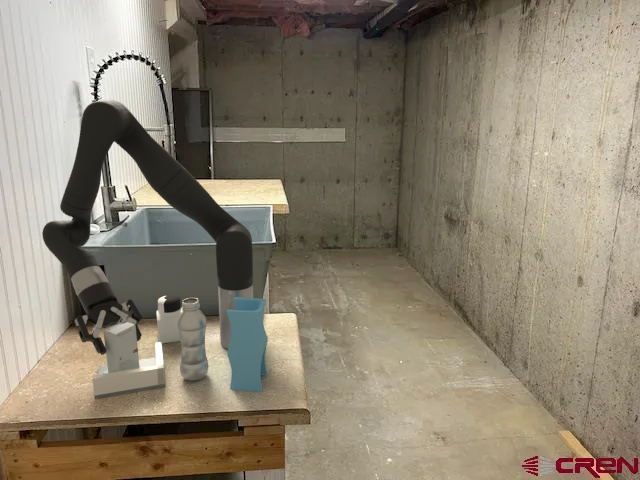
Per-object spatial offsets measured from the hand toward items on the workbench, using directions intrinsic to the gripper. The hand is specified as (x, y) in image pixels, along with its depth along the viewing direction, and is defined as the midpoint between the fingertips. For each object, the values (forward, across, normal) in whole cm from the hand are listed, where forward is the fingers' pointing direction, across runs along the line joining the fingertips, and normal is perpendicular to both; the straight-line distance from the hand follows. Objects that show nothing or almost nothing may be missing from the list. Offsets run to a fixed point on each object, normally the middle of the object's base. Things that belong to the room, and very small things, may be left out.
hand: (122, 346), depth 113 cm
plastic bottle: (+15, +11, -3) cm, 19 cm away
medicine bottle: (-1, +19, +13) cm, 23 cm away
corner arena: (+7, +1, +5) cm, 8 cm away
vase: (+23, +18, -11) cm, 31 cm away
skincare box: (+5, 0, +6) cm, 8 cm away
